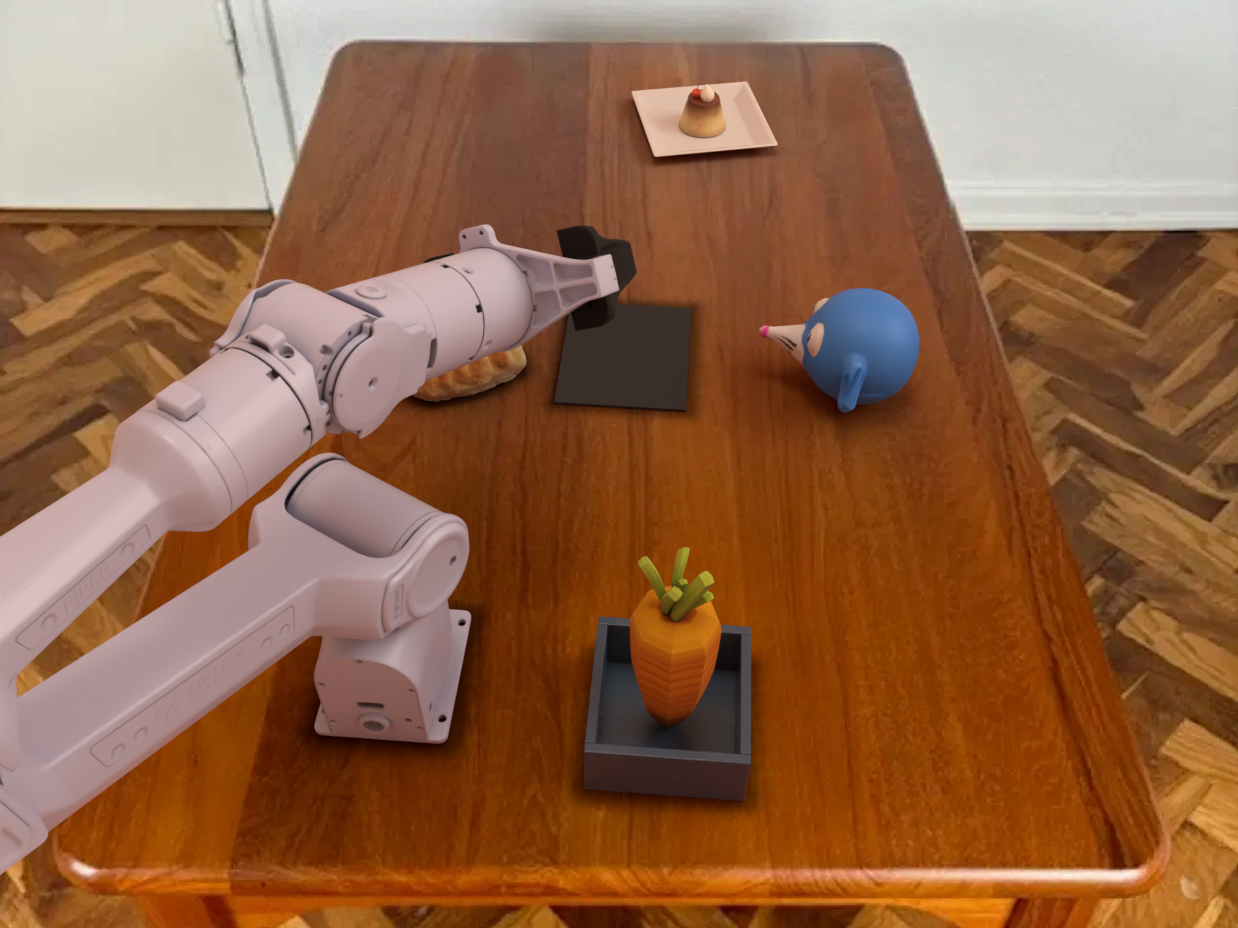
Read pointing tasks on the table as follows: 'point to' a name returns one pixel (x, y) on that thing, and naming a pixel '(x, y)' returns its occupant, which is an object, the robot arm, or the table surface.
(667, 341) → the mat
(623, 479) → the table surface
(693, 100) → the dessert
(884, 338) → the blue mole toy
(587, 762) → the bin
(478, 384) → the pastry
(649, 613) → the carrot
